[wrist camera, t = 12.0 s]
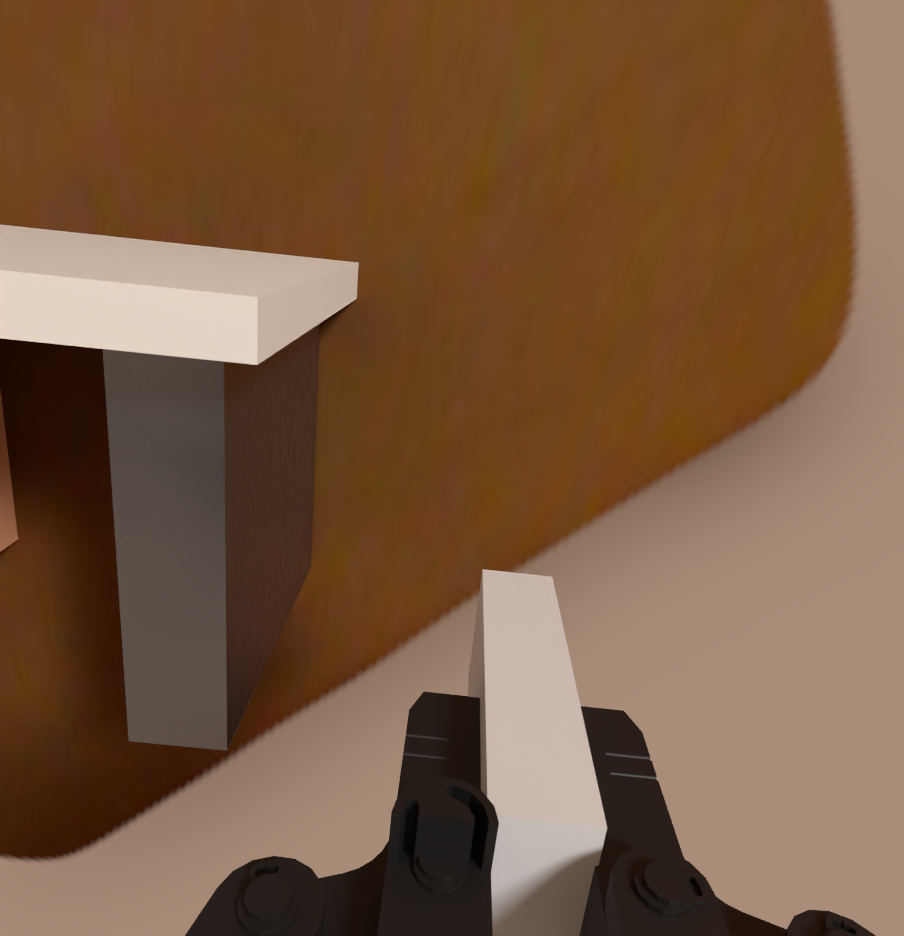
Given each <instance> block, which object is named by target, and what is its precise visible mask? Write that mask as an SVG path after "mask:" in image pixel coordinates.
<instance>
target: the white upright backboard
mask: <svg viewBox="0 0 904 936" xmlns="http://www.w3.org/2000/svg"><path fill="white" fill-rule="evenodd" d="M358 265H359V263H357V262H347V261H338V260H329V259H319V258H310V257H300V256H291V255H282V254H272V253H263V252H253V251H244V250H234V249H225V248H216V247H206V246H197V245H187V244H178V243H169V242H159V241H150V240H140V239H131V238H121V237H112V236H103V235H93V234H84V233H74V232H65V231H56V230H46V229H37V228H27V227H18V226H8V225H0V338H2V339H12V340H21V341H31V342H40V343H50V344H60V345H69V346H79V347H89V348H98V349H108V350H118V351H127V352H137V353H146V354H156V355H166V356H175V357H185V358H195V359H204V360H214V361H224V362H233V363H243V364H252V365H258V364H259V363H261V362H262V361H264V360H265V359H267V358H268V357H270V356H271V355H273V354H274V353H276V352H277V351H279V350H280V349H282V348H284V347H285V346H287V345H288V344H290V343H291V342H293V341H294V340H296V339H297V338H299V337H300V336H302V335H303V334H305V333H306V332H308V331H309V330H311V329H312V328H314V327H315V326H317V325H318V324H320V323H321V322H323V321H324V320H326V319H327V318H329V317H330V316H332V315H333V314H335V313H336V312H338V311H339V310H341V309H342V308H344V307H345V306H347V305H348V304H350V303H351V302H353V301H354V300H356V299H357V283H358Z"/></svg>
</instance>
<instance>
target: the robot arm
mask: <svg viewBox="0 0 904 936" xmlns="http://www.w3.org/2000/svg"><path fill="white" fill-rule="evenodd" d="M468 695H469V696H459V695H450V694H440V693H431V692H423V693H422V695H421V696H420V697H419V698H418V700H417V701H416V702H415V703H414V705H413V706H412V707H411V709H410V710H409V716H408V723H407V731H406V739H405V745H404V753H403V760H402V767H401V775H400V782H399V789H398V797H397V800H396V803H395V805H394V808H393V810H392V814H391V825H390V837H389V841H388V843H387V844H386V846H385V848H384V849H383V851H382V852H381V853H380V854H378V855H377V856H376V857H375V858H374V859H373V860H372V861H370V862H369V863H367V864H365V865H364V866H362V867H360V868H358V869H355V870H352V871H349V872H346V873H343V874H338V875H333V876H328V877H323V878H318V877H317V876H316V874H315V873H314V872H313V870H312V869H311V868H310V867H308V866H306V865H304V864H303V863H301V862H299V861H297V860H296V859H291V858H285V857H277V856H272V857H267V858H262V859H257V860H253V861H251V862H249V863H247V864H245V865H244V866H242V867H240V868H238V869H236V870H234V871H233V872H232V873H231V874H230V875H229V876H228V877H227V878H226V879H225V880H224V881H223V882H222V884H220V886H219V887H218V888H217V889H216V891H215V892H214V894H213V895H212V897H211V898H210V899H209V901H208V903H207V904H206V905H205V907H204V908H203V910H202V911H201V913H200V914H199V916H198V917H197V919H196V920H195V922H194V923H193V925H192V926H191V928H190V929H189V931H188V932H187V934H186V935H185V936H875V935H874V934H872V933H871V932H869V931H868V930H866V929H865V928H863V927H862V926H860V925H859V924H857V923H856V922H854V921H853V920H851V919H848V918H846V917H843V916H840V915H838V914H835V913H833V912H830V911H819V910H817V911H816V910H808V911H805V912H803V913H801V914H798V915H796V916H794V918H793V920H792V921H791V923H790V925H789V927H788V928H787V930H786V929H784V928H781V927H778V926H776V925H774V924H771V923H769V922H766V921H764V920H761V919H758V918H756V917H753V916H751V915H748V914H746V913H743V912H741V911H739V910H737V909H735V908H733V907H731V906H729V905H727V904H725V903H724V902H723V901H721V900H720V899H718V898H717V897H716V896H715V894H714V892H713V891H712V889H711V887H710V885H709V883H708V881H707V880H706V878H705V877H704V876H703V875H702V874H701V873H700V872H699V871H698V870H697V869H696V868H695V867H694V866H693V865H692V864H691V863H690V862H688V861H686V860H685V859H684V857H683V855H682V852H681V848H680V845H679V842H678V840H677V836H676V833H675V830H674V827H673V824H672V821H671V818H670V815H669V812H668V810H667V806H666V803H665V800H664V797H663V794H662V791H661V788H660V785H659V782H658V781H657V780H656V773H655V770H654V767H653V764H652V761H650V755H649V752H648V749H647V746H646V743H645V739H644V737H643V733H642V732H641V730H639V728H638V727H637V726H636V725H635V723H634V722H633V721H632V720H631V719H630V718H629V717H628V715H627V714H626V713H625V712H624V711H621V710H611V709H602V708H592V707H582V706H580V702H579V698H578V693H577V688H576V683H575V679H574V674H573V670H572V665H571V661H570V656H569V652H568V647H567V643H566V638H565V634H564V629H563V624H562V620H561V615H560V611H559V606H558V602H557V597H556V593H555V588H554V583H553V579H552V577H549V576H540V575H531V574H521V573H512V572H502V571H493V570H482V578H481V585H480V593H479V601H478V609H477V617H476V624H475V632H474V639H473V647H472V655H471V663H470V670H469V692H468Z"/></svg>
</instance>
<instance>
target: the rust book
mask: <svg viewBox="0 0 904 936" xmlns="http://www.w3.org/2000/svg"><path fill="white" fill-rule="evenodd" d="M16 540H18V534H17V526H16V517H15V509H14V500H13V492H12V483H11V475H10V466H9V458H8V449H7V441H6V432H5V424H4V415H3V407H2V398H1V390H0V552H1V551H2V550H4V549H5V548H6V547H8V546H9V545H11V544H12V543H14V542H15V541H16Z"/></svg>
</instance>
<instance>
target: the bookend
mask: <svg viewBox="0 0 904 936" xmlns="http://www.w3.org/2000/svg"><path fill="white" fill-rule="evenodd" d="M319 328H320V324H318V325H317V326H315V327H314V328H312V329H311V330H309V331H308V332H306V333H305V334H303V335H302V336H300V337H299V338H297V339H296V340H294V341H293V342H291V343H290V344H288V345H287V346H285V347H284V348H282V349H280V350H279V351H277V352H276V353H274V354H273V355H271V356H270V357H268V358H267V359H265V360H264V361H262V362H261V363H259V364H258V365H252V364H243V363H233V362H224V361H214V360H204V359H195V358H185V357H175V356H166V355H156V354H146V353H137V352H127V351H118V350H108V349H103V363H104V378H105V393H106V408H107V423H108V438H109V453H110V468H111V484H112V499H113V514H114V529H115V544H116V559H117V574H118V589H119V604H120V619H121V634H122V649H123V664H124V679H125V694H126V709H127V724H128V739H129V741H132V742H142V743H153V744H163V745H173V746H184V747H194V748H205V749H215V750H226V751H227V750H228V748H229V745H230V743H231V741H232V739H233V737H234V734H235V732H236V730H237V728H238V726H239V723H240V721H241V719H242V717H243V715H244V712H245V710H246V708H247V706H248V704H249V702H250V699H251V697H252V695H253V693H254V691H255V688H256V686H257V684H258V682H259V680H260V677H261V675H262V673H263V671H264V669H265V666H266V664H267V662H268V660H269V658H270V655H271V653H272V651H273V649H274V647H275V644H276V642H277V640H278V638H279V636H280V634H281V631H282V629H283V627H284V625H285V623H286V620H287V618H288V616H289V614H290V612H291V609H292V607H293V605H294V603H295V601H296V598H297V596H298V594H299V592H300V590H301V587H302V585H303V583H304V581H305V579H306V576H307V574H308V572H309V570H310V568H311V544H312V517H313V490H314V463H315V436H316V409H317V382H318V355H319Z"/></svg>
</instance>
